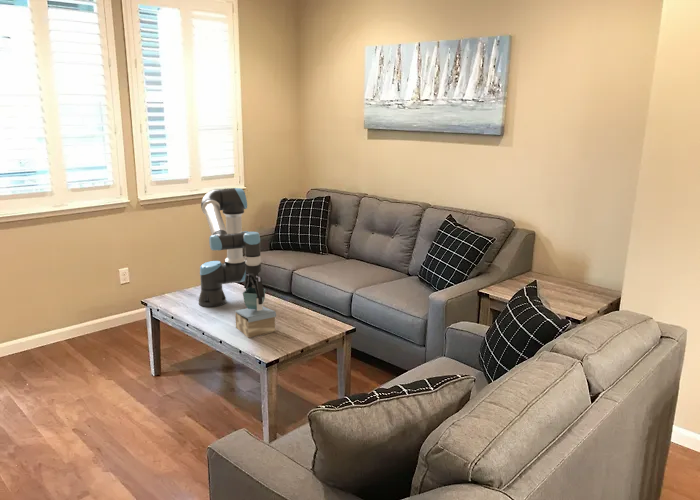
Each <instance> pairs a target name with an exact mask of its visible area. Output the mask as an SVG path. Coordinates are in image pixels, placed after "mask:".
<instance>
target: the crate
mask: <svg viewBox="0 0 700 500" xmlns="http://www.w3.org/2000/svg"><path fill="white" fill-rule="evenodd" d="M234 313H235V329H237V330H239V331H240V332H241V333H242V334H244V336H246V338H248V339H251V338H256V337H260V336H264V335H270V334H273V333H276V317H272V318H267V319H263V320H258V321H253V322H248V319H247V318H245V317H243V316H241V315H239V314H237V313H236V312H234Z"/></svg>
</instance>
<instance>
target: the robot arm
mask: <svg viewBox="0 0 700 500" xmlns="http://www.w3.org/2000/svg"><path fill="white" fill-rule="evenodd" d="M200 206H201V207H200V208H201V211H202V214H203V215H205V217H206V221H207V224H208V228H209V231H210V233H211V235H209V238H208V242H209V247H210V250H211V251H226V258H224V263H223V262H221V261H220V260H212V261H206V262H204V263H202V264H201V265H200V266H199V276H200V293H199V297H198V305H199V306H201V307H206V308H207V307H208V308H213V307H218V306H219V307H220V306H223V305H225V304H226V303H227V297H226V295H225V291H224V290H223V285H224V284H225V285H227V284H235V283H242V282H244V285H243V288H244V289H245V291H246V290H247V289H248V288H255V291H256V294H257V297H256V298H257V311H259V310H263V306H264V305H263V304H264V302H263V303H262V297H265V298H266V295H265V296H264V290H263V289H264V286H263V279H262V277H263V276H259V273H261V272H262V255H261V235H260V233H259V232H258V231H248V230H245V231H244V230H243V228H242V227H243V222H242V221H243V220H242V216H243V215H244V214H245V210H247V209H248V201H247V195H246V193H245V191H244V189H243V188H240V187H230V188H214V189H211V190H209V191H208V192H207V193H206V194H205V195H204V196H203V197H202V199H201V202H200ZM221 211H222V213H221ZM222 214H223V215H224V216H225V223H224V220H223V217H222ZM243 249H244V253H243ZM243 255H244V256H243Z"/></svg>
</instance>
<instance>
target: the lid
mask: <svg viewBox="0 0 700 500" xmlns="http://www.w3.org/2000/svg"><path fill="white" fill-rule="evenodd" d="M234 313H237V314H239V315H241V316H243V317H245V318H247V319H248V322H253V321H258V320H263V319H267V318H272V317H275V318H276V317H277V312H276V311H275V310H273V309H271V308H268V307H266V306H264V305H263V310H259V311H257V310H255V309H248V308H247V307H246V308H241V309H237V310H234Z"/></svg>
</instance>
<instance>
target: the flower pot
mask: <svg viewBox="0 0 700 500" xmlns="http://www.w3.org/2000/svg"><path fill="white" fill-rule="evenodd" d="M263 290H264V296H265V297H262V303H263V304H264V302H265V299H266V288H263ZM242 296H243V297H242V298H243V302H244V305H245V307H246V308H248V309H255V310H257V298H256V297H257V294H256V291H255V287H252V288H248V289H247V290H246V289H245V290H244V291H243V292H242Z"/></svg>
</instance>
